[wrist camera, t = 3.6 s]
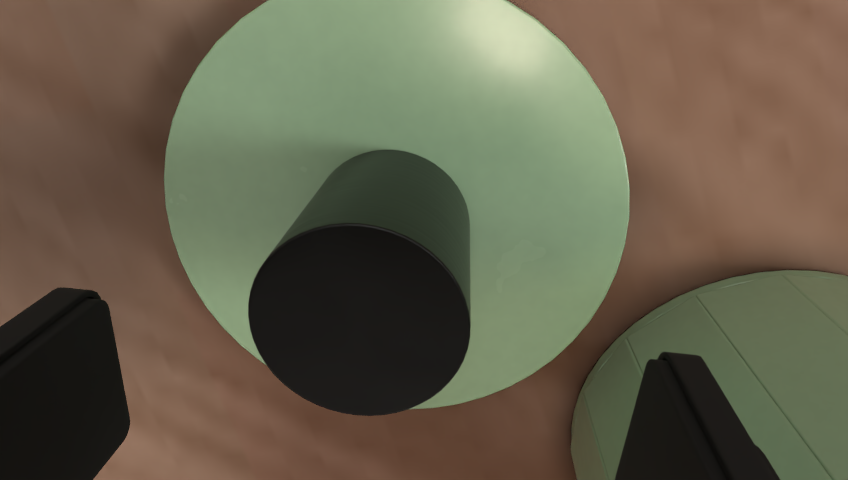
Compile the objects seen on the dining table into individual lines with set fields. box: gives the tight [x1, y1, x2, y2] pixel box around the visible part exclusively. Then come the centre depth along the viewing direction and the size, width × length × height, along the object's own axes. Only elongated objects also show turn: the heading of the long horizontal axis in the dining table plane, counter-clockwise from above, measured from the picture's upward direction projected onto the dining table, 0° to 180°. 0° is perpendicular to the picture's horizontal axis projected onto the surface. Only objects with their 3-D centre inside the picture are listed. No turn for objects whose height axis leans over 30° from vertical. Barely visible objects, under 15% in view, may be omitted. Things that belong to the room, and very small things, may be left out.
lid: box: [164, 0, 630, 416], centre depth 15 cm, size 14×14×7 cm
